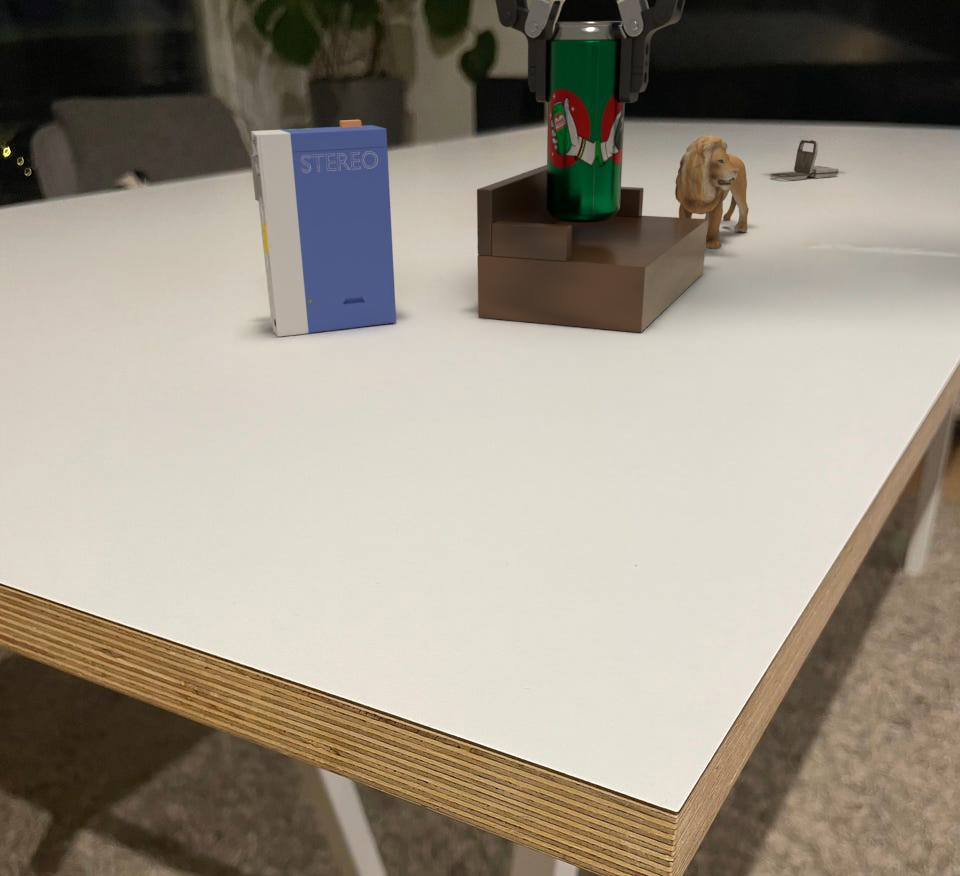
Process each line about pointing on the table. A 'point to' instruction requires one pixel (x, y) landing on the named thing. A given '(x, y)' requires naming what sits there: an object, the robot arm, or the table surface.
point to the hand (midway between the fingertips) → (586, 100)
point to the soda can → (584, 121)
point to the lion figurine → (711, 185)
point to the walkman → (325, 226)
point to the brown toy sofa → (580, 259)
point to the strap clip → (806, 165)
